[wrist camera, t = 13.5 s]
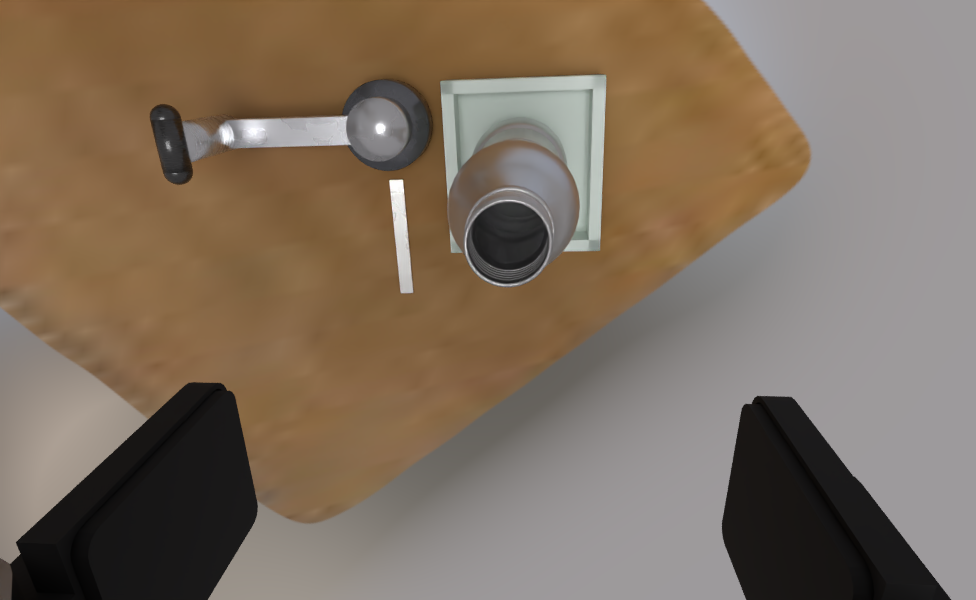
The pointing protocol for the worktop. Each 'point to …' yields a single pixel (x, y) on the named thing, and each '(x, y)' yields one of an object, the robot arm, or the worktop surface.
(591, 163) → the tray
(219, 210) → the worktop surface
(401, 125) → the crank
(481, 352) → the worktop surface
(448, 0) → the worktop surface
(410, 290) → the crank base
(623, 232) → the worktop surface
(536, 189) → the metal bottle
